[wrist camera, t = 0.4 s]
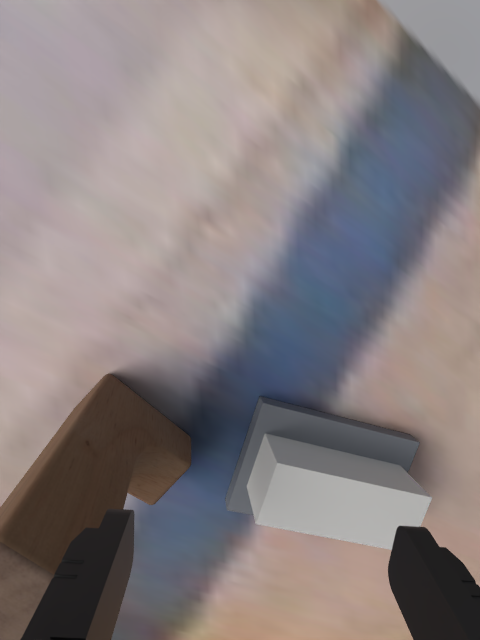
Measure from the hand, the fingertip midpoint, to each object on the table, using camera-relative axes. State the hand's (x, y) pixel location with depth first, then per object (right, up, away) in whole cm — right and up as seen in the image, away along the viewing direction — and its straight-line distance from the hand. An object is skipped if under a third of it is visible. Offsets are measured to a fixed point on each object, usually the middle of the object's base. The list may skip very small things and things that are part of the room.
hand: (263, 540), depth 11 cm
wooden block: (-10, -2, +20) cm, 22 cm away
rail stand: (+7, -7, +23) cm, 25 cm away
